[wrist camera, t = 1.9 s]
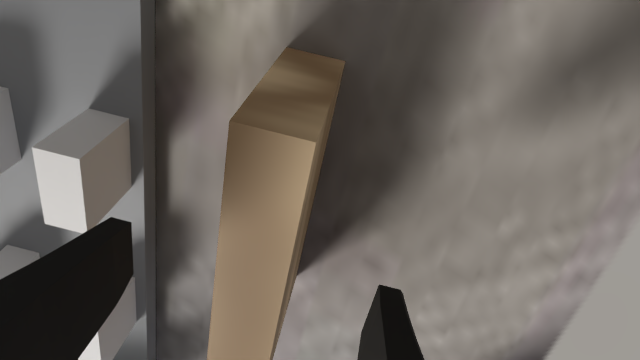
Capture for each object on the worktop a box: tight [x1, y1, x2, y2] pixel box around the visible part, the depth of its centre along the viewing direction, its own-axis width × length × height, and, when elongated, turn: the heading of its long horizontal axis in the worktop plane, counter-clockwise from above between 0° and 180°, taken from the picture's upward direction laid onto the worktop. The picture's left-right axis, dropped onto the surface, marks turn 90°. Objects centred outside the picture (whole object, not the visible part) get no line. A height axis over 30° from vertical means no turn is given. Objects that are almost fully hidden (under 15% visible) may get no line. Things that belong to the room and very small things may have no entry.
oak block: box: [207, 47, 345, 360], centre depth 16 cm, size 2×10×6 cm, turn 169°
